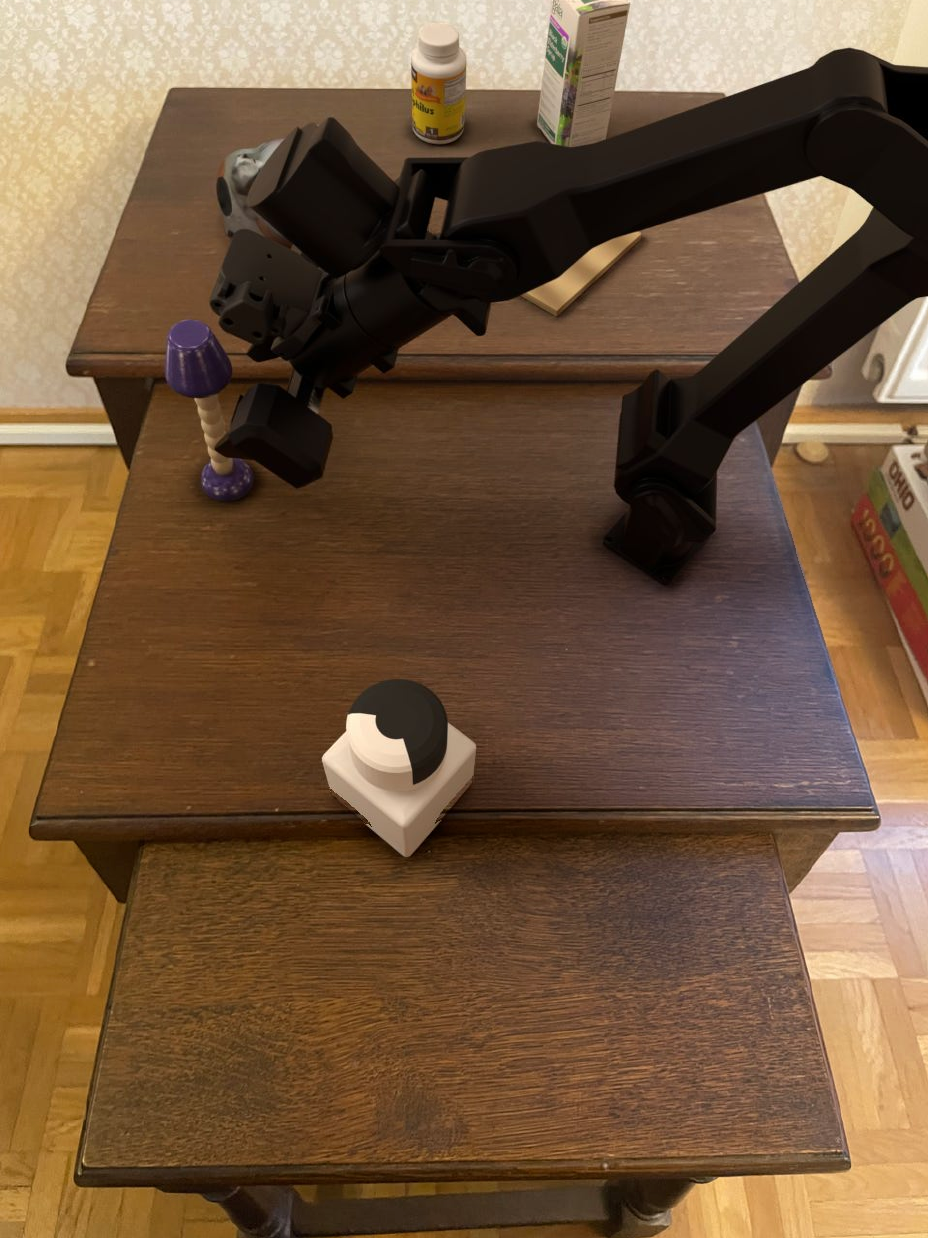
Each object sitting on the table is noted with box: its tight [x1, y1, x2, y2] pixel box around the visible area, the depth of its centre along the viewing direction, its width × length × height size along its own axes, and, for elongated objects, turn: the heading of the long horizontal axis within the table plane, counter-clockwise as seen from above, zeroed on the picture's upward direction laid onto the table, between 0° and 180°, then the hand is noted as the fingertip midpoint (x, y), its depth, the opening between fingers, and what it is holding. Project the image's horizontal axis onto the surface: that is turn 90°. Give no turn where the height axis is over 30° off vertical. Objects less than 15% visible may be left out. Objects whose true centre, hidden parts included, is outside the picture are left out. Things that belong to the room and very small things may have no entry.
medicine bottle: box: [321, 678, 477, 858], centre depth 62 cm, size 7×7×12 cm
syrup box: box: [536, 0, 631, 147], centre depth 98 cm, size 6×6×14 cm
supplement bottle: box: [410, 22, 467, 145], centre depth 99 cm, size 6×6×10 cm
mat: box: [520, 231, 642, 317], centre depth 95 cm, size 14×14×1 cm
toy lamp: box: [164, 318, 255, 503], centre depth 73 cm, size 5×5×17 cm
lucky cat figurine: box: [215, 137, 292, 249], centre depth 89 cm, size 15×12×14 cm
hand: (236, 402), depth 71 cm, fingers open, 9 cm apart
